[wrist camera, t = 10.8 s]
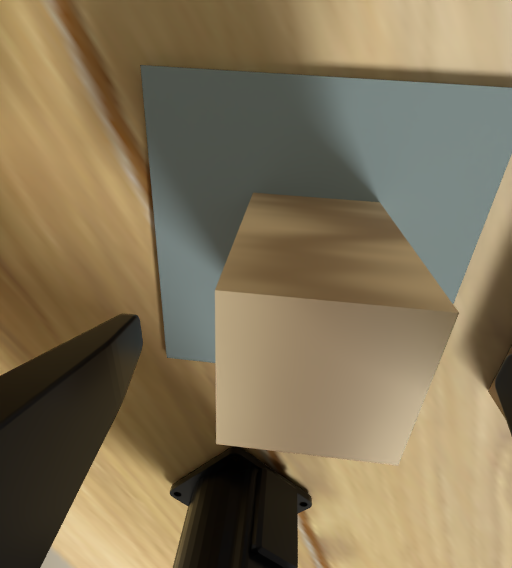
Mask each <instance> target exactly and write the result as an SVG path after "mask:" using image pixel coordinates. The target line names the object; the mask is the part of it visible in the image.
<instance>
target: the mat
mask: <svg viewBox="0 0 512 568" xmlns="http://www.w3.org/2000/svg"><path fill="white" fill-rule="evenodd" d="M140 66H141V77H142V88H143V99H144V110H145V121H146V133H147V144H148V155H149V166H150V177H151V188H152V199H153V210H154V221H155V232H156V244H157V255H158V266H159V277H160V288H161V299H162V310H163V321H164V332H165V344H166V355H167V358H175V359H184V360H193V361H203V362H212V363H216V360H215V289H216V286H217V284H218V281H219V278H220V276H221V273H222V271H223V268H224V266H225V263H226V261H227V258H228V256H229V253H230V250H231V248H232V245H233V243H234V240H235V238H236V235H237V233H238V230H239V227H240V225H241V222H242V220H243V217H244V215H245V212H246V210H247V207H248V204H249V202H250V199H251V197H252V194H253V193H264V194H277V195H290V196H303V197H316V198H330V199H343V200H356V201H369V202H380V203H381V205H382V206H383V207H384V209H385V210H386V212H387V213H388V214H389V216H390V217H391V219H392V220H393V221H394V223H395V224H396V226H397V227H398V228H399V230H400V231H401V233H402V234H403V235H404V237H405V238H406V239H407V241H408V242H409V244H410V245H411V246H412V248H413V249H414V251H415V252H416V253H417V255H418V256H419V258H420V259H421V260H422V262H423V263H424V265H425V266H426V267H427V269H428V270H429V272H430V273H431V274H432V276H433V277H434V279H435V280H436V281H437V283H438V284H439V286H440V287H441V288H442V290H443V291H444V293H445V294H446V295H447V297H448V298H449V300H450V301H451V302H452V304H453V303H454V301H455V298H456V296H457V293H458V290H459V288H460V285H461V283H462V280H463V278H464V275H465V272H466V270H467V267H468V265H469V262H470V260H471V257H472V254H473V252H474V249H475V247H476V244H477V242H478V239H479V236H480V234H481V231H482V229H483V226H484V224H485V221H486V218H487V216H488V213H489V211H490V208H491V206H492V203H493V200H494V198H495V195H496V193H497V190H498V188H499V185H500V182H501V180H502V177H503V175H504V172H505V170H506V167H507V165H508V162H509V159H510V157H511V154H512V88H507V87H491V86H474V85H458V84H442V83H425V82H409V81H392V80H376V79H360V78H343V77H327V76H310V75H294V74H278V73H261V72H245V71H228V70H212V69H196V68H179V67H163V66H146V65H140Z"/></svg>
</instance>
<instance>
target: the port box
mask: <svg viewBox="0 0 512 568" xmlns="http://www.w3.org/2000/svg"><path fill="white" fill-rule="evenodd" d="M510 354H512V347H511V348H510V350H509V352H508V354H507V356H509V355H510ZM507 356H506V358H507ZM506 358H505V360H506ZM505 360H504V361H505ZM503 363H504V362H503ZM502 365H503V364H502ZM501 367H502V366H501ZM500 369H501V368H500ZM499 371H500V370H499ZM499 371H498V373H499ZM498 373H497V375H498ZM497 375H496V377H497ZM496 377H495V379H494V381H493V383H492V385H491V387H490V389H489V391H488V392H489V393H490V395H491V397H492V398H493V400H494V401H495V403H496V404H497V406H498V408H499V409H500V411H501V412H502V414H503V416H504V417H505V415H504V412H503V409H502V406H501V403H500V400H499V398H498V395H497V392H496V388H495V380H496ZM505 419H506V418H505Z"/></svg>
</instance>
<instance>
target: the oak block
mask: <svg viewBox="0 0 512 568" xmlns="http://www.w3.org/2000/svg"><path fill="white" fill-rule="evenodd" d="M458 314H459V312H458V311H457V309H456V308H455V307H454V305H453V304H452V302H451V301H450V300H449V298H448V297H447V295H446V294H445V293H444V291H443V290H442V288H441V287H440V286H439V284H438V283H437V281H436V280H435V279H434V277H433V276H432V274H431V273H430V272H429V270H428V269H427V267H426V266H425V265H424V263H423V262H422V260H421V259H420V258H419V256H418V255H417V253H416V252H415V251H414V249H413V248H412V246H411V245H410V244H409V242H408V241H407V239H406V238H405V237H404V235H403V234H402V233H401V231H400V230H399V228H398V227H397V226H396V224H395V223H394V221H393V220H392V219H391V217H390V216H389V214H388V213H387V212H386V210H385V209H384V207H383V206H382V205H381V203H380V202H369V201H356V200H343V199H330V198H316V197H303V196H290V195H277V194H264V193H253V194H252V197H251V199H250V202H249V204H248V207H247V210H246V212H245V215H244V217H243V220H242V222H241V225H240V227H239V230H238V233H237V235H236V238H235V240H234V243H233V245H232V248H231V250H230V253H229V256H228V258H227V261H226V263H225V266H224V268H223V271H222V273H221V276H220V278H219V281H218V284H217V286H216V289H215V360H216V444H220V445H229V446H237V447H246V448H254V449H262V450H271V451H279V452H288V453H296V454H305V455H313V456H321V457H330V458H338V459H347V460H355V461H364V462H372V463H380V464H389V465H397V466H398V465H399V462H400V460H401V457H402V455H403V452H404V450H405V447H406V445H407V442H408V440H409V437H410V435H411V432H412V430H413V427H414V425H415V422H416V420H417V417H418V414H419V412H420V409H421V407H422V404H423V402H424V399H425V397H426V394H427V392H428V389H429V387H430V384H431V382H432V379H433V377H434V374H435V372H436V369H437V367H438V364H439V362H440V359H441V357H442V354H443V352H444V349H445V347H446V344H447V342H448V339H449V337H450V334H451V332H452V329H453V327H454V324H455V322H456V319H457V317H458Z"/></svg>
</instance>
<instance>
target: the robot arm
mask: <svg viewBox="0 0 512 568" xmlns="http://www.w3.org/2000/svg"><path fill="white" fill-rule="evenodd" d="M142 345H143V339H142V332H141V324H140V319H139V317H138V316H137V315H132V314H120V315H118V316H116V317H114V318H112V319H110V320H108V321H106V322H104V323H102V324H100V325H98V326H97V327H95V328H93V329H91V330H89V331H87V332H85V333H83V334H81V335H79V336H77V337H75V338H73V339H71V340H69V341H67V342H65V343H63V344H61V345H59V346H57V347H56V348H54V349H52V350H50V351H48V352H46V353H44V354H42V355H40V356H38V357H36V358H34V359H32V360H30V361H28V362H26V363H24V364H22V365H20V366H18V367H16V368H15V369H13V370H11V371H9V372H7V373H5V374H3V375H1V376H0V568H40V567H41V565H42V563H43V561H44V559H45V557H46V555H47V553H48V551H49V549H50V547H51V545H52V543H53V541H54V539H55V537H56V535H57V533H58V531H59V529H60V527H61V525H62V523H63V521H64V519H65V517H66V515H67V513H68V511H69V509H70V507H71V505H72V503H73V501H74V499H75V497H76V495H77V493H78V491H79V489H80V487H81V485H82V483H83V481H84V479H85V477H86V475H87V473H88V471H89V469H90V467H91V465H92V463H93V461H94V459H95V457H96V455H97V453H98V451H99V449H100V447H101V445H102V443H103V441H104V439H105V437H106V435H107V433H108V431H109V429H110V427H111V425H112V423H113V421H114V419H115V417H116V415H117V413H118V411H119V409H120V406H121V404H122V402H123V399H124V397H125V394H126V392H127V389H128V386H129V383H130V381H131V378H132V375H133V372H134V370H135V367H136V364H137V361H138V359H139V356H140V353H141V350H142ZM495 388H496V392H497V395H498V398H499V400H500V403H501V406H502V409H503V412H504V415H505V418H506V421H507V424H508V427H509V429H510V432H511V435H512V354H510V355H509V356H507V358H506V360H505V361H504V363H503V365H502V367H501V369H500V371H499V373H498V375H497V377H496V380H495ZM170 495H171V496H172V497H173V498H175V499H177V500H179V501H180V502H182V503H184V504H185V505H187V506H188V510H187V514H186V518H185V522H184V526H183V530H182V533H181V537H180V541H179V545H178V549H177V553H176V557H175V561H174V565H173V568H298V531H297V514H298V513H300V512H302V511H304V510H306V509H308V508H310V507H311V506H312V498H311V496H310V495H309V494H308V493H306V492H305V491H303V490H302V489H300V488H299V487H297V486H296V485H294V484H293V483H292V482H290V481H289V480H287V479H286V478H284V477H283V476H281V475H280V474H278V473H277V472H275V471H274V470H273V469H271V468H270V467H268V466H267V465H265V464H264V463H262V462H261V461H259V460H258V459H256V458H255V457H254V456H252V455H251V454H249V453H248V452H246V451H245V450H243V449H242V448H240V447H231V448H229V449H228V450H226V451H225V452H223V453H221V454H220V455H218V456H217V457H215V458H214V459H212V460H210V461H209V462H207V463H206V464H204V465H203V466H201V467H199V468H198V469H196V470H195V471H193V472H192V473H190V474H188V475H187V476H185V477H184V478H182V479H181V480H179V481H177V482H176V483H174V484H173V485H172V487H171V490H170Z"/></svg>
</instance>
